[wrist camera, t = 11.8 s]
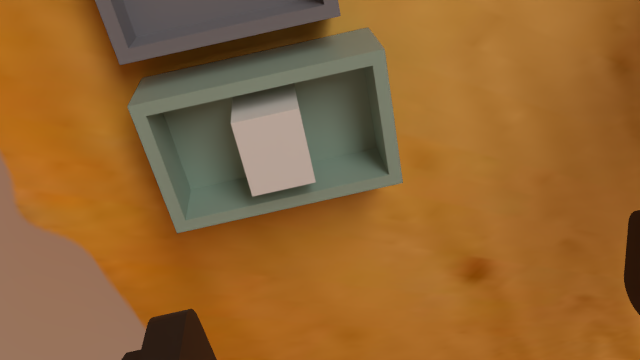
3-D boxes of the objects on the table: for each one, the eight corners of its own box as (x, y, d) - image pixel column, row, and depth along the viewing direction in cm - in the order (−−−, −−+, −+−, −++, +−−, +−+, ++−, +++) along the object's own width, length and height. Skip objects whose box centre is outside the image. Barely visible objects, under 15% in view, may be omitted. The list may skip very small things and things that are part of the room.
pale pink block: (293, 79, 36) (299, 108, 32) (308, 147, 39) (315, 182, 35) (232, 93, 36) (230, 123, 32) (251, 159, 39) (252, 196, 35)
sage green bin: (368, 27, 36) (384, 49, 32) (386, 149, 41) (402, 182, 36) (141, 78, 36) (127, 106, 32) (184, 194, 41) (177, 233, 36)
